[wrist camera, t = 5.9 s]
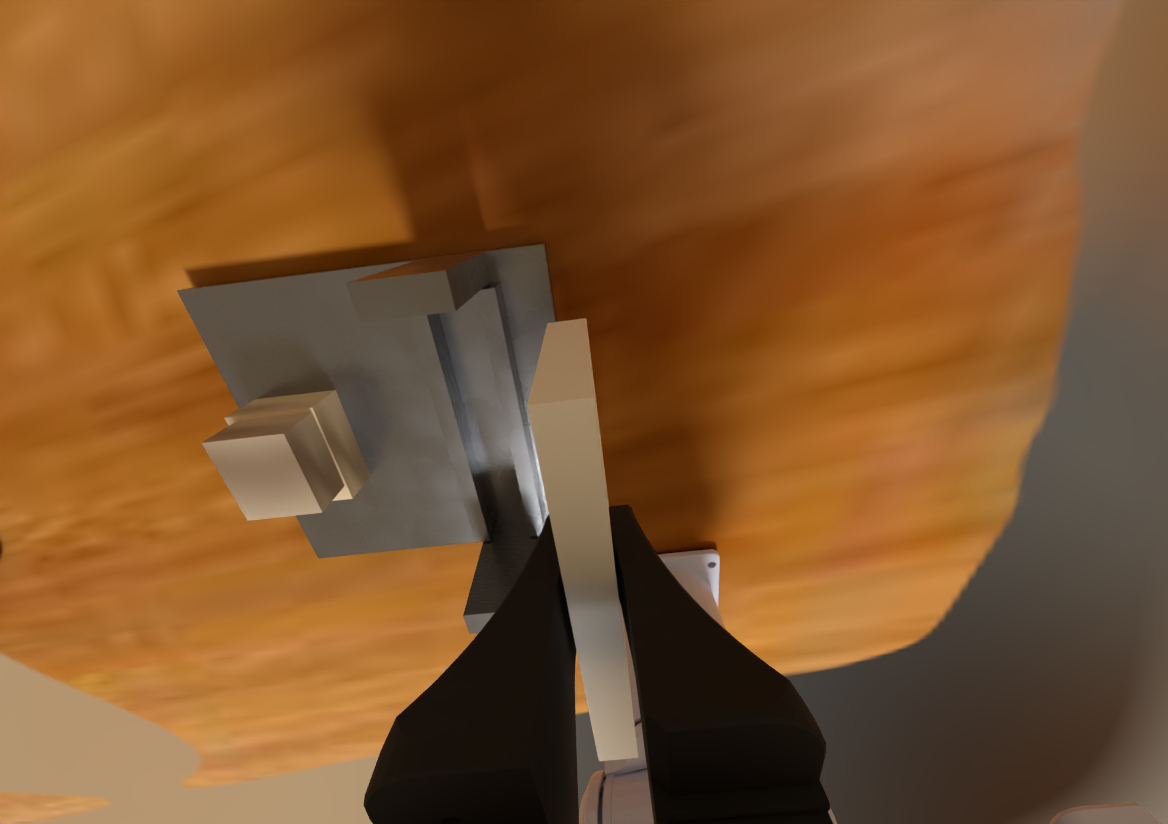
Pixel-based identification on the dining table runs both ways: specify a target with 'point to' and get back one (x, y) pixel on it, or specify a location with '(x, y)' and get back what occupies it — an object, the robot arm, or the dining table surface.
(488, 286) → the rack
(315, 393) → the block
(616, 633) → the cream rectangular block
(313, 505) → the offcut top
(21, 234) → the dining table surface
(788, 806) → the robot arm
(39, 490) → the dining table surface
